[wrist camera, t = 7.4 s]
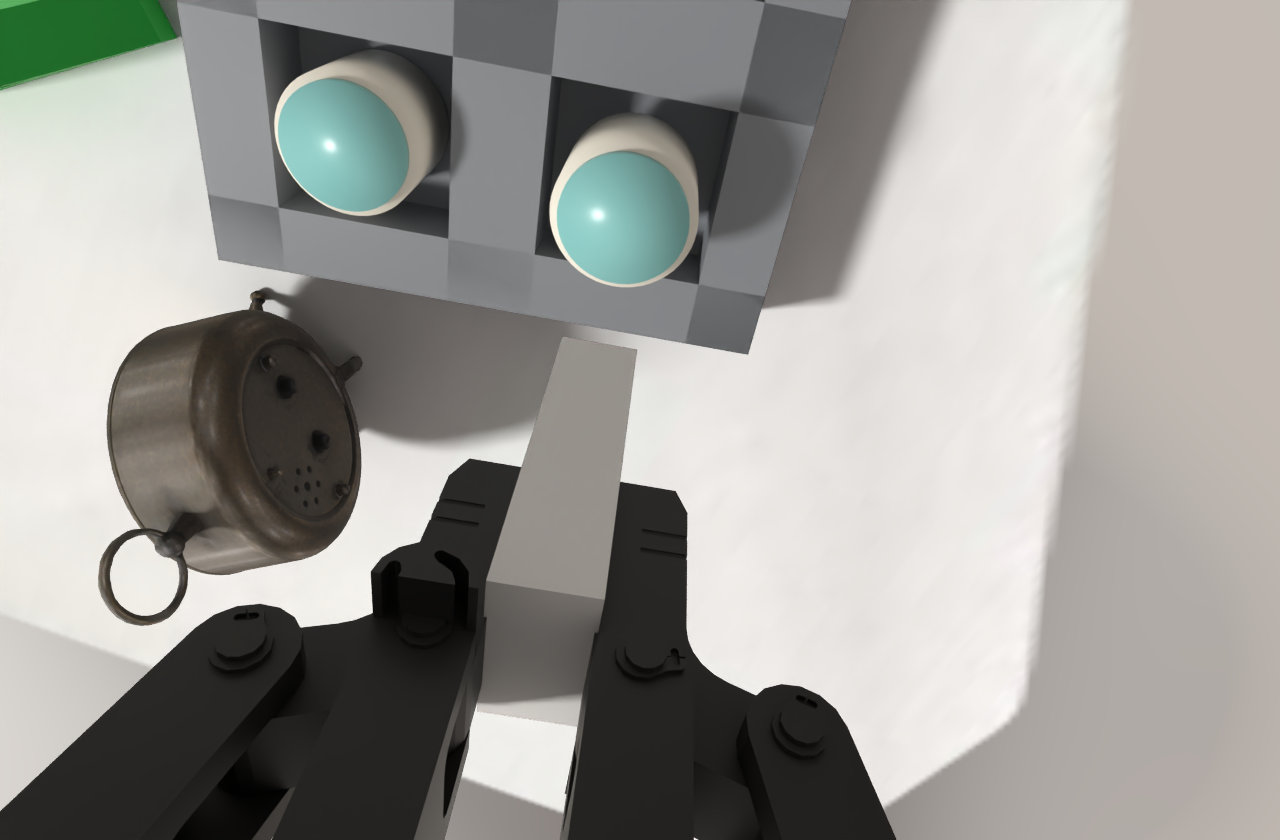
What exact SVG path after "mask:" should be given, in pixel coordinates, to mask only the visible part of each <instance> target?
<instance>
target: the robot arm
mask: <svg viewBox="0 0 1280 840" xmlns="http://www.w3.org/2000/svg"><path fill="white" fill-rule="evenodd" d="M636 354H637V350H636V349H631V348H625V347H619V346H614V345H608V344H602V343H597V342H591V341H585V340H579V339H574V338H568V337H562V339H561V342H560V346H559V349H558V352H557V355H556V358H555V362H554V365H553V368H552V371H551V374H550V378H549V381H548V384H547V387H546V390H545V394H544V397H543V400H542V403H541V406H540V410H539V413H538V416H537V419H536V422H535V426H534V429H533V432H532V435H531V438H530V442H529V445H528V448H527V451H526V454H525V458H524V461H523V464H522V467H517V466H511V465H505V464H499V463H493V462H487V461H481V460H475V459H469V460H467V461H466V462H465V463H464V464H462V465H461V466H460V467H459V468H458V469H456V470H455V471H454V472H453V473H452V474H450V475H449V477H448V479H447V481H446V484H445V486H444V488H443V491H442V493H441V495H440V497H439V502H437V504H436V507H435V509H434V511H433V513H432V517H431V520H429V523H428V525H427V527H426V529H425V532H424V534H423V536H422V538H421V541H420V542H418V543H414V544H410V545H406V546H402V547H399V548H397V549H395V550H394V551H392V552H390V553H389V554H387V555H385V556H384V557H382V558H381V559H380V561H379V562H378V563H377V564H376V566H375V567H374V568H373V569H372V571H371V585H372V604H373V613H372V614H370V615H367V616H364V617H362V618H359V619H357V620H353V621H348V622H343V623H338V624H330V625H321V626H312V627H303V628H300V627H299V625H298V623H297V621H296V619H295V617H293V616H292V615H290V614H289V613H287V612H286V611H284V610H283V609H281V608H278V607H273V606H268V605H263V604H255V605H245V606H236V607H234V608H231V609H228V610H226V611H223V612H220V613H218V614H215V615H213V616H212V617H210V618H209V619H207V620H206V621H205V622H203V623H202V624H200V625H199V626H197V627H196V628H195V629H194V630H193V631H191V632H190V633H189V634H188V635H187V636H186V637H185V638H184V639H183V640H182V641H181V642H180V643H179V644H178V645H177V646H176V647H174V648H173V649H172V650H171V651H170V652H169V653H168V654H167V655H166V656H165V657H164V658H163V659H162V660H161V661H160V662H159V663H157V664H156V665H155V666H154V667H153V668H152V669H151V670H150V671H149V672H148V673H147V674H146V675H145V676H144V677H143V678H141V679H140V681H138V682H137V683H136V684H135V685H134V686H133V687H132V688H131V689H130V690H129V691H128V692H127V693H126V694H124V696H122V697H121V698H120V699H119V700H118V701H117V702H116V703H115V704H114V705H113V706H112V707H111V708H110V709H109V710H107V711H106V712H105V713H104V714H103V715H102V716H101V717H100V718H99V719H98V720H97V721H96V722H95V723H94V724H93V725H92V726H91V727H89V728H88V729H87V730H86V731H85V732H84V733H83V734H82V735H81V736H80V737H79V738H78V739H77V740H76V741H75V742H74V743H72V744H71V745H70V746H69V747H68V748H67V749H66V750H65V751H64V752H63V753H62V754H61V755H60V756H59V757H58V758H56V759H55V760H54V761H53V762H52V763H51V764H50V765H49V766H48V767H47V768H46V769H45V770H44V771H43V772H42V773H40V774H39V776H37V777H36V778H35V779H34V780H33V781H32V782H31V783H30V784H29V785H28V786H27V787H26V788H24V790H22V791H21V792H20V793H19V794H18V795H17V796H16V797H15V798H14V799H13V800H12V801H11V802H10V803H9V804H8V805H6V806H5V807H4V808H3V809H2V810H1V811H0V840H271V839H272V840H444V839H445V835H446V832H447V828H448V824H449V820H450V816H451V813H452V809H453V805H454V801H455V798H456V793H457V790H458V787H459V783H460V779H461V775H462V772H463V768H464V764H465V760H466V757H467V753H468V749H469V733H470V726H471V722H472V718H473V715H474V711H475V708H476V704H477V711H478V712H484V713H491V714H497V715H504V716H511V717H517V718H524V719H530V720H537V721H543V722H550V723H556V724H563V725H570V726H576V727H577V734H576V741H575V746H574V751H573V756H572V761H571V766H570V771H569V776H568V781H567V786H566V791H565V794H566V801H565V808H564V815H563V822H562V828H561V835H560V840H694V838H696V839H698V840H896V837H895V835H894V833H893V831H892V828H891V826H890V824H889V822H888V819H887V817H886V814H885V812H884V810H883V808H882V805H881V803H880V801H879V798H878V796H877V794H876V791H875V789H874V787H873V785H872V782H871V780H870V778H869V775H868V773H867V771H866V769H865V766H864V764H863V762H862V759H861V757H860V755H859V753H858V750H857V748H856V746H855V743H854V741H853V739H852V736H851V734H850V732H849V730H848V727H847V726H846V724H845V723H844V721H843V719H842V718H841V716H840V715H839V713H838V712H837V710H836V709H835V708H834V707H833V706H832V705H830V704H829V703H828V702H827V701H826V700H825V699H823V698H822V697H821V696H820V695H818V694H816V693H814V692H811V691H809V690H807V689H805V688H803V687H800V686H792V685H784V684H780V685H776V686H773V687H769V688H765V689H763V690H762V691H761V692H760V693H759V694H758V695H754V694H751V693H749V692H747V691H745V690H743V689H741V688H738V687H736V686H734V685H732V684H730V683H728V682H726V681H724V680H723V679H721V678H719V677H717V676H716V675H714V674H713V673H712V672H710V671H709V670H708V669H707V668H706V667H705V666H704V665H702V663H701V662H700V661H699V659H698V658H697V657H696V655H695V654H694V653H693V651H692V648H691V646H690V644H689V641H688V636H687V629H686V611H687V560H686V558H687V512H686V510H685V508H684V506H683V504H682V502H681V500H680V499H679V497H678V495H677V493H676V491H672V490H666V489H660V488H654V487H648V486H642V485H636V484H630V483H624V482H620V478H621V470H622V462H623V455H624V447H625V439H626V431H627V424H628V416H629V408H630V400H631V393H632V385H633V377H634V369H635V362H636ZM477 700H478V701H477ZM272 837H273V838H272Z"/></svg>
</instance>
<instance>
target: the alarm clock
mask: <svg viewBox="0 0 1280 840" xmlns="http://www.w3.org/2000/svg"><path fill="white" fill-rule="evenodd" d="M250 298H251V300H252V303H251V305H250V308H249V310H241V311H236V312H231V313H226V314H221V315H217V316H213V317H209V318H205V319H201V320H197V321H193V322H188V323H184V324H180V325H176V326H171V327H166V328H163V329H160V330H158V331H156V332H154V333H152V334H150V335H149V336H147V337H146V338H144V339H143V340H142V341H141V342H139V343H138V344H137V345H136V346H135V347H134V348H133V349H132V350H131V351H130V352H129V354H128V355H127V356H126V358H125V359H124V361H123V363H122V364H121V366H120V368H119V370H118V372H117V374H116V377H115V379H114V382H113V385H112V389H111V394H110V398H109V404H108V415H107V440H108V449H109V456H110V461H111V465H112V470H113V474H114V477H115V480H116V484H117V486H118V489H119V492H120V494H121V496H122V498H123V500H124V502H125V504H126V506H127V508H128V510H129V511H130V513H131V515H132V516H133V518H134V520H135V521H136V522H137V524H138V525H139V527H140V528H141V529H134V530H130V531H127V532H126V533H124V534H122V535H121V536H120V537H118V538H116V539H115V540H114V541H112V542H111V544H110V545H109V546H108V548H107V549H106V550H105V552H104V553H103V556H102V558H101V561H100V566H99V575H98V586H99V590H100V593H101V597H102V599H103V600H104V602H105V604H106V605H107V607H108V608H109V610H110V611H111V612H112V613H113V614H114V615H115V616H116V617H117V618H119V619H121V620H122V621H124V622H126V623H129V624H133V625H140V626H144V625H152V624H156V623H159V622H162V621H163V620H165V619H167V618H169V617H170V616H171V615H172V614H173V613H174V612H175V611H176V609H177V608H178V607H179V605H180V603H181V601H182V599H183V597H184V596H185V593H186V589H187V582H188V569H187V568H189V569H192V570H195V571H197V572H201V573H205V574H212V575H230V574H234V573H238V572H242V571H245V570H250V569H255V568H261V567H266V566H271V565H276V564H282V563H287V562H292V561H297V560H302V559H305V558H308V557H311V556H313V555H316V554H318V553H319V552H321V551H323V550H324V549H325V548H327V547H328V546H329V545H330V544H331V543H332V542H333V541H334V540H335V539H336V538H337V537H338V536H339V535H340V533H341V532H342V530H343V529H344V527H345V526H346V524H347V522H348V520H349V518H350V516H351V514H352V512H353V509H354V506H355V503H356V499H357V496H358V491H359V486H360V477H361V447H360V438H359V431H358V426H357V421H356V418H355V414H354V410H353V407H352V404H351V401H350V398H349V396H348V393H347V391H346V389H345V381H346V380H348V379H349V378H350V377H351V376H352V375H353V374H354V373H355V372H356V371H358V370H359V369H360V367H361V366H362V361H361V359H360V358H359V357H353V358H352V359H350V360H349V361H347V362H346V363H344V364H343V365H341V366H340V367H336V366H334V365H333V364H332V362H331V361H330V359H329V358H328V356H327V355H326V354H325V353H324V351H323V350H322V349H321V348H320V346H319V345H318V344H317V343H316V342H315V341H314V340H313V339H312V338H311V337H310V336H309V335H308V334H307V333H306V332H305V331H303V330H302V329H301V328H299V327H298V326H297V325H295V324H294V323H292V322H290V321H288V320H286V319H284V318H282V317H280V316H277V315H274V314H272V313H269V312H264V311H263V307H262V304H263V303H264V302H265V299H266V297H265V295H264V293H263V292H261V291H255V292H253V293H252V294H251V296H250ZM139 535H146V536H147V537H148V538H149V539H150V540H151V541H152V542H153V543H154V544H155V550H156V551H157V553H159V554H160V555H161V556H163V557H168V558H171V559H173V560H175V561H176V562H177V564H178V567H179V585H178V589H177V593H176V595H175V598H174V599H173V601H172V602H171V604H170V605H169V606H168V607H167V608H166V609H165V610H163V611H162V612H160V613H157V614H155V615H151V616H140V615H136V614H133V613H131V612H129V611H127V610H126V609H124V608H123V607H122V606H121V605H120V604H119V603H118V601H117V600H116V599H115V597H114V594H113V591H112V587H111V581H110V569H111V565H112V562H113V558H114V555H115V554H116V552H117V551H118V549H119V548H120V546H121V545H122V544H123V543H124V542H126V541H127V540H129V539H131V538H133V537H136V536H139Z"/></svg>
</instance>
